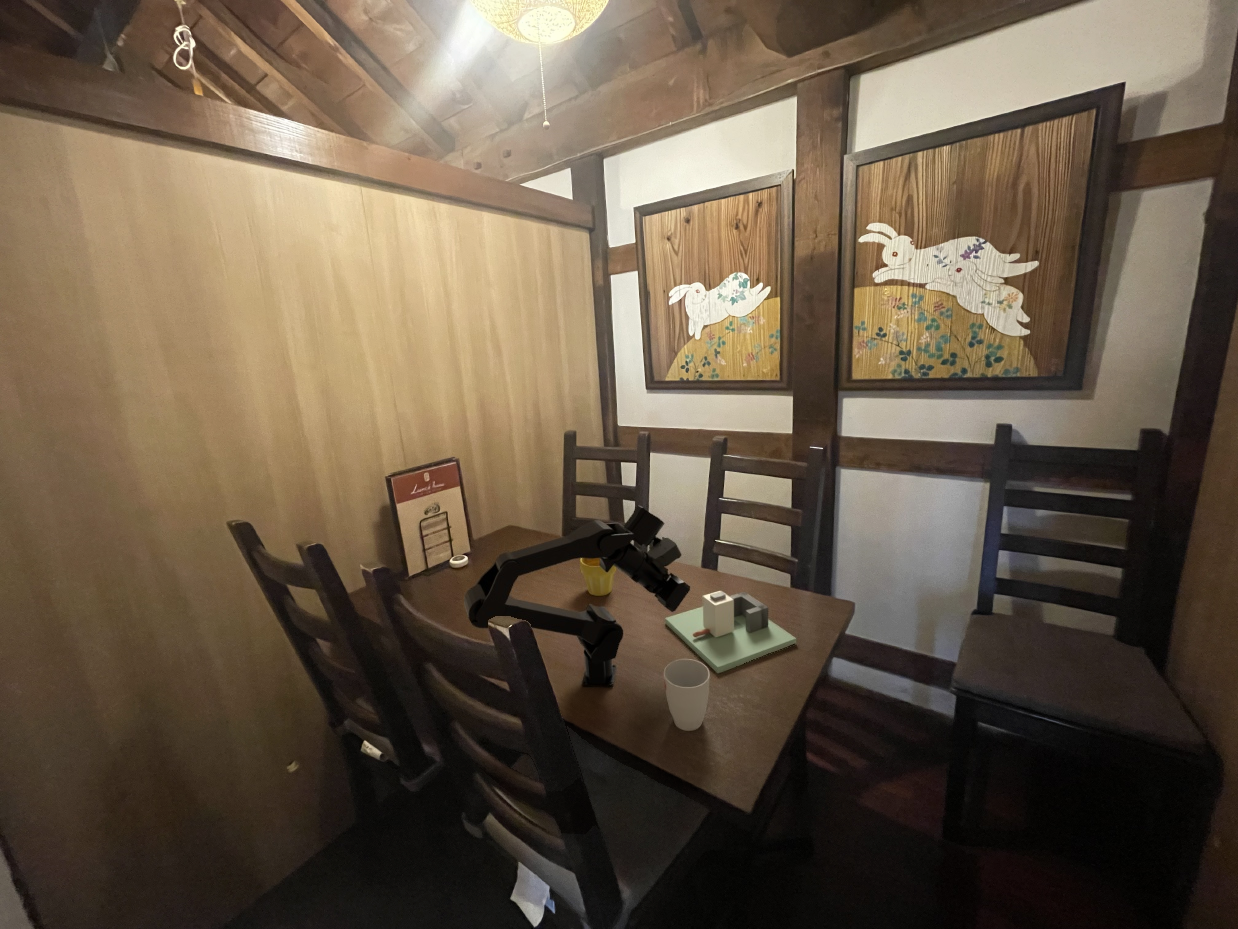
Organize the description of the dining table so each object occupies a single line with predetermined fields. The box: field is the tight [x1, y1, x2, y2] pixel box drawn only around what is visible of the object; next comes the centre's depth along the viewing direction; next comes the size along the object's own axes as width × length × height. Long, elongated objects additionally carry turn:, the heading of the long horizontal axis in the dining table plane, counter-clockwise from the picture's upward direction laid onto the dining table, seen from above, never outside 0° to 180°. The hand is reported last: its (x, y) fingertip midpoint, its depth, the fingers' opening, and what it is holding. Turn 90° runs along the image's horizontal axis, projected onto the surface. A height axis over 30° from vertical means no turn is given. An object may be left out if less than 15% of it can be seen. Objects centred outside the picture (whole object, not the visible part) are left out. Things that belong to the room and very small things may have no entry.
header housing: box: [728, 591, 769, 633], centre depth 118 cm, size 5×9×5 cm, turn 24°
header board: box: [664, 606, 797, 674], centre depth 117 cm, size 21×22×2 cm
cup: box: [663, 658, 710, 732], centre depth 90 cm, size 8×8×10 cm
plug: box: [693, 590, 734, 637], centre depth 114 cm, size 9×5×9 cm, turn 114°
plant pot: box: [579, 558, 618, 597], centre depth 141 cm, size 10×10×10 cm
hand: (681, 597), depth 109 cm, fingers closed
